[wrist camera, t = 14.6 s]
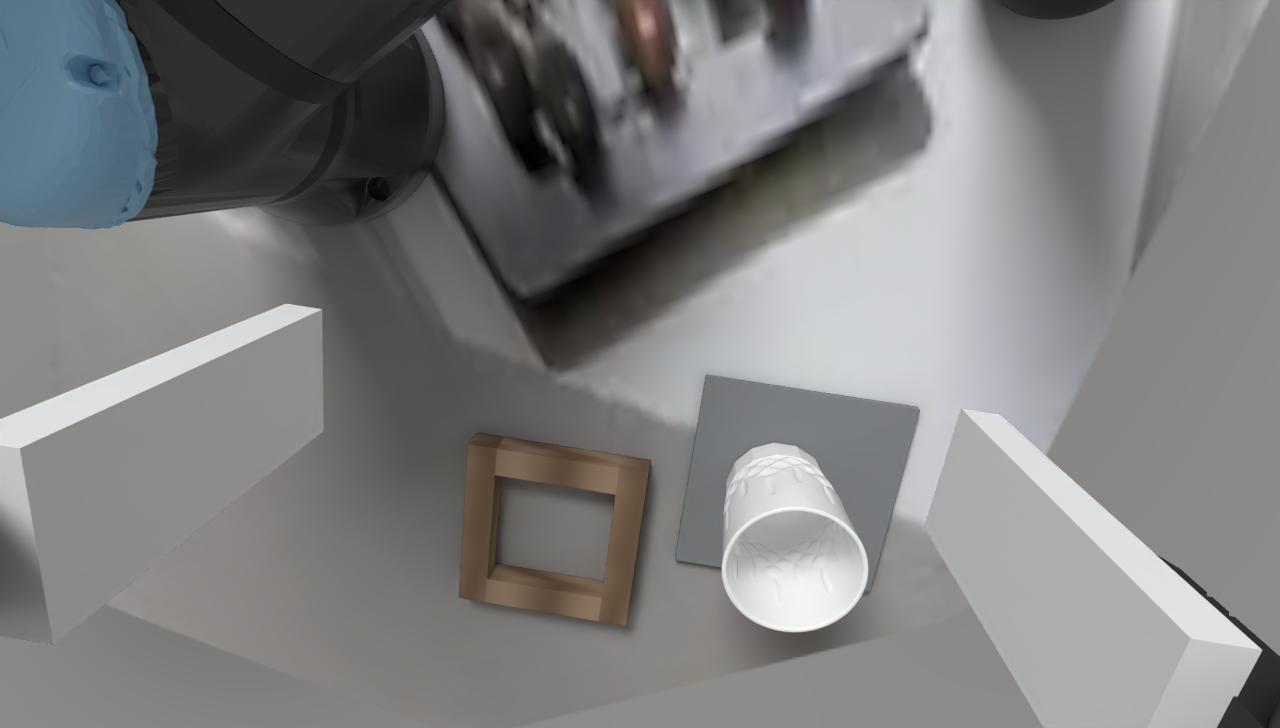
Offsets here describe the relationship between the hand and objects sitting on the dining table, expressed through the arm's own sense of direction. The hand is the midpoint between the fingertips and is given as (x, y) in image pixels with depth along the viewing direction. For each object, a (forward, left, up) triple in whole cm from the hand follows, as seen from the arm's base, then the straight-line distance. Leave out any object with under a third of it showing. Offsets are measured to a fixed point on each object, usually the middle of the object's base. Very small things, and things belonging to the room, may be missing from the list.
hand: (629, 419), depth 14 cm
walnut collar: (-6, -21, -30) cm, 38 cm away
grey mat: (+10, -15, -30) cm, 36 cm away
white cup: (+9, -16, -30) cm, 35 cm away
